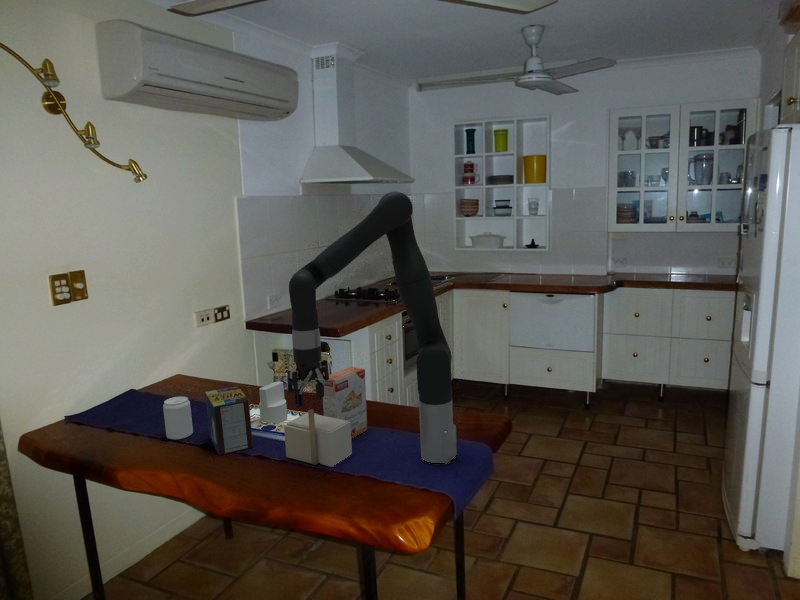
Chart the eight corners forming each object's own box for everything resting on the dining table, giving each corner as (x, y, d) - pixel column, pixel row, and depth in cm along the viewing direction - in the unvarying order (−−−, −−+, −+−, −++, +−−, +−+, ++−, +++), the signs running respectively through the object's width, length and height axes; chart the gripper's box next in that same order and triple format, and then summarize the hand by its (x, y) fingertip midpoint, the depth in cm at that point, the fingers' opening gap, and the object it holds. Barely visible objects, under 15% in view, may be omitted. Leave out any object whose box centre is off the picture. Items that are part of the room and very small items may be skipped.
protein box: (242, 431, 194) (238, 385, 192) (253, 448, 181) (249, 399, 178) (209, 438, 190) (204, 391, 187) (218, 456, 176) (213, 405, 173)
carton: (352, 454, 173) (350, 420, 171) (332, 467, 166) (330, 431, 164) (309, 444, 182) (307, 412, 180) (289, 455, 174) (286, 422, 172)
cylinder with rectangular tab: (274, 426, 197) (271, 391, 195) (255, 421, 202) (251, 387, 200) (293, 416, 205) (290, 383, 203) (273, 412, 210) (270, 380, 208)
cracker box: (339, 447, 178) (334, 380, 175) (324, 443, 182) (320, 377, 178) (369, 431, 189) (365, 368, 186) (354, 427, 193) (351, 365, 189)
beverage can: (162, 436, 192) (157, 401, 190) (185, 428, 198) (181, 394, 196) (174, 443, 187) (169, 406, 185) (198, 434, 193) (194, 399, 191)
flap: (318, 463, 168) (315, 409, 165) (315, 465, 166) (311, 411, 164) (289, 455, 174) (285, 403, 171) (285, 457, 172) (281, 405, 170)
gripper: (299, 352, 154) (303, 412, 157) (334, 340, 166) (337, 396, 168) (277, 349, 158) (282, 407, 161) (313, 337, 170) (316, 392, 172)
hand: (310, 401), depth 164 cm, fingers open, 8 cm apart
